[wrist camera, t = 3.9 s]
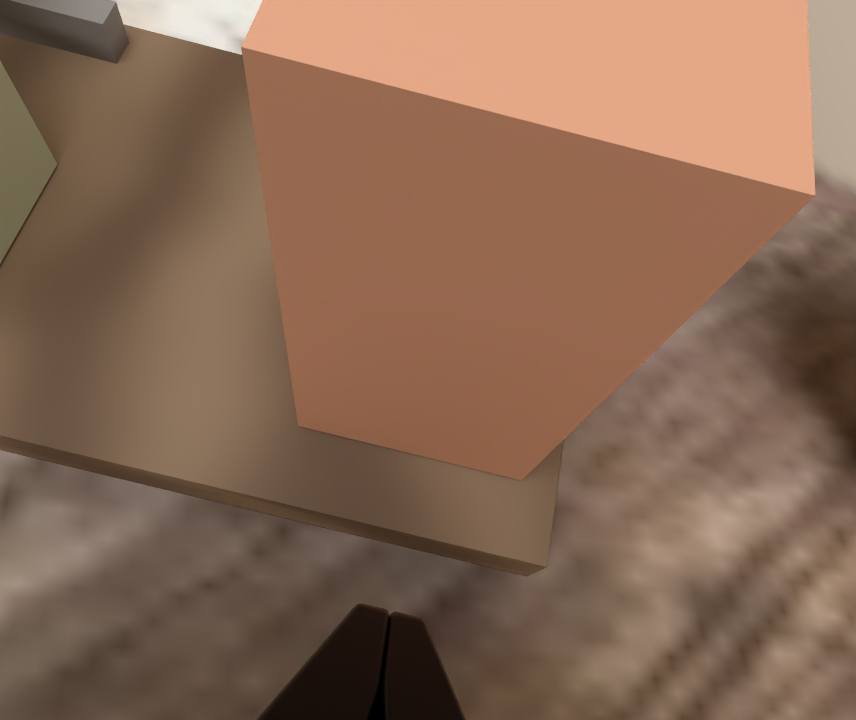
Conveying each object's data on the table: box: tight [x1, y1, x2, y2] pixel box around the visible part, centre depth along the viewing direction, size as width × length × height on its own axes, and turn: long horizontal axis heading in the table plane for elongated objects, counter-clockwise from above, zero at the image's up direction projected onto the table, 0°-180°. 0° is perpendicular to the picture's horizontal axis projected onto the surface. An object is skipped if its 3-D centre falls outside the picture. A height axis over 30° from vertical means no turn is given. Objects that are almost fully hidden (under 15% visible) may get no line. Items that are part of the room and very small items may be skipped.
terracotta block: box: [241, 0, 815, 480], centre depth 14 cm, size 6×6×12 cm
